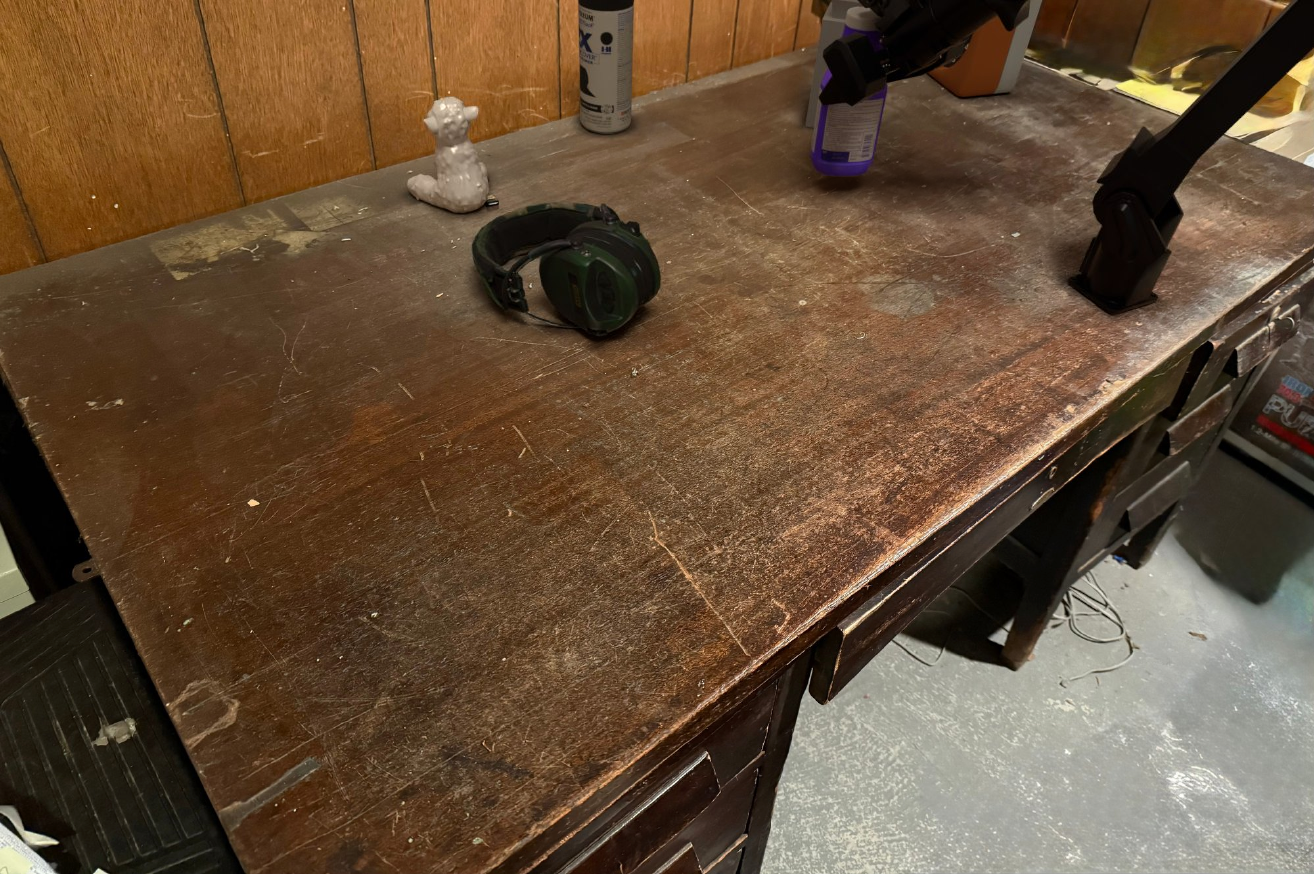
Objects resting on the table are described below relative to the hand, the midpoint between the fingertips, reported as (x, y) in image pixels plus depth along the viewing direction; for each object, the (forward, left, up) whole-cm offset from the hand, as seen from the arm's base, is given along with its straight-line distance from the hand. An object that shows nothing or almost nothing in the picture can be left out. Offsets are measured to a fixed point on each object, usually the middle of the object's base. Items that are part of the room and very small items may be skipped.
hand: (842, 92), depth 99 cm
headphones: (-10, +37, -11) cm, 40 cm away
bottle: (-2, -1, -9) cm, 9 cm away
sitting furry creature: (+12, +41, -11) cm, 44 cm away
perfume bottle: (+14, -11, -11) cm, 21 cm away
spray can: (+24, +18, -11) cm, 32 cm away
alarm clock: (+21, -37, -11) cm, 44 cm away
